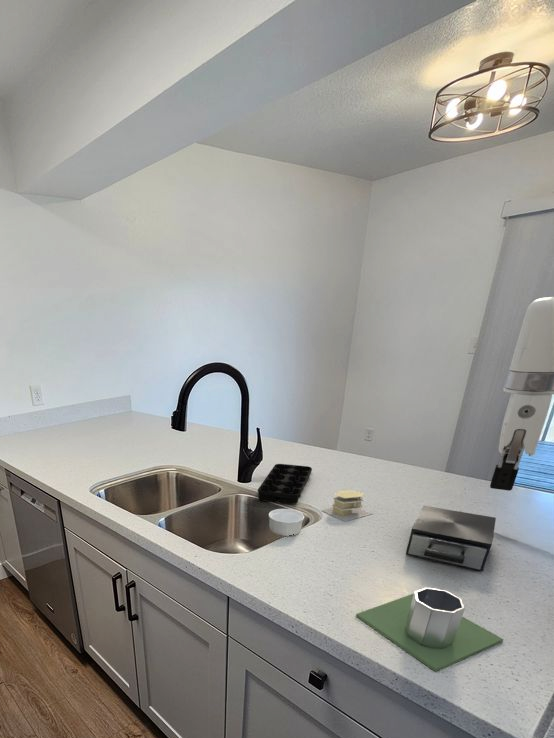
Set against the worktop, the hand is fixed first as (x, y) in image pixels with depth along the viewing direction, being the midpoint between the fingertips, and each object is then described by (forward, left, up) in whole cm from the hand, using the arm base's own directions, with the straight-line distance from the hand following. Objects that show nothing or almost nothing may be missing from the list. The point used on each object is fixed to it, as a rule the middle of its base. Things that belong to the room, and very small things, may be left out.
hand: (500, 487), depth 79 cm
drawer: (+10, -7, -20) cm, 23 cm away
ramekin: (+38, +16, -21) cm, 46 cm away
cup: (-8, +22, -20) cm, 31 cm away
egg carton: (+63, -4, -21) cm, 67 cm away
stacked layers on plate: (+39, -6, -21) cm, 45 cm away
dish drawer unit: (+12, -10, -21) cm, 26 cm away
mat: (-6, +20, -21) cm, 29 cm away
